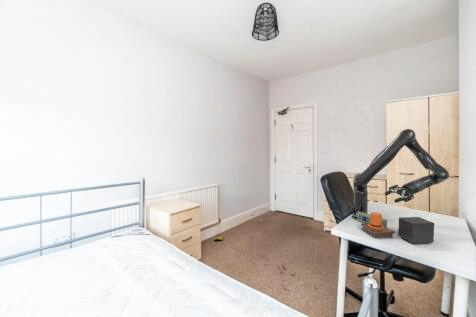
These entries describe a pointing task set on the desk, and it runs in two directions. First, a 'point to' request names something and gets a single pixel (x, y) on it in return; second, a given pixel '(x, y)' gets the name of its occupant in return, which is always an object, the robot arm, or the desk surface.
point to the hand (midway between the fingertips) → (389, 197)
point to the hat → (376, 221)
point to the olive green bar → (367, 218)
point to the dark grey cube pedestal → (416, 230)
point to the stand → (378, 231)
